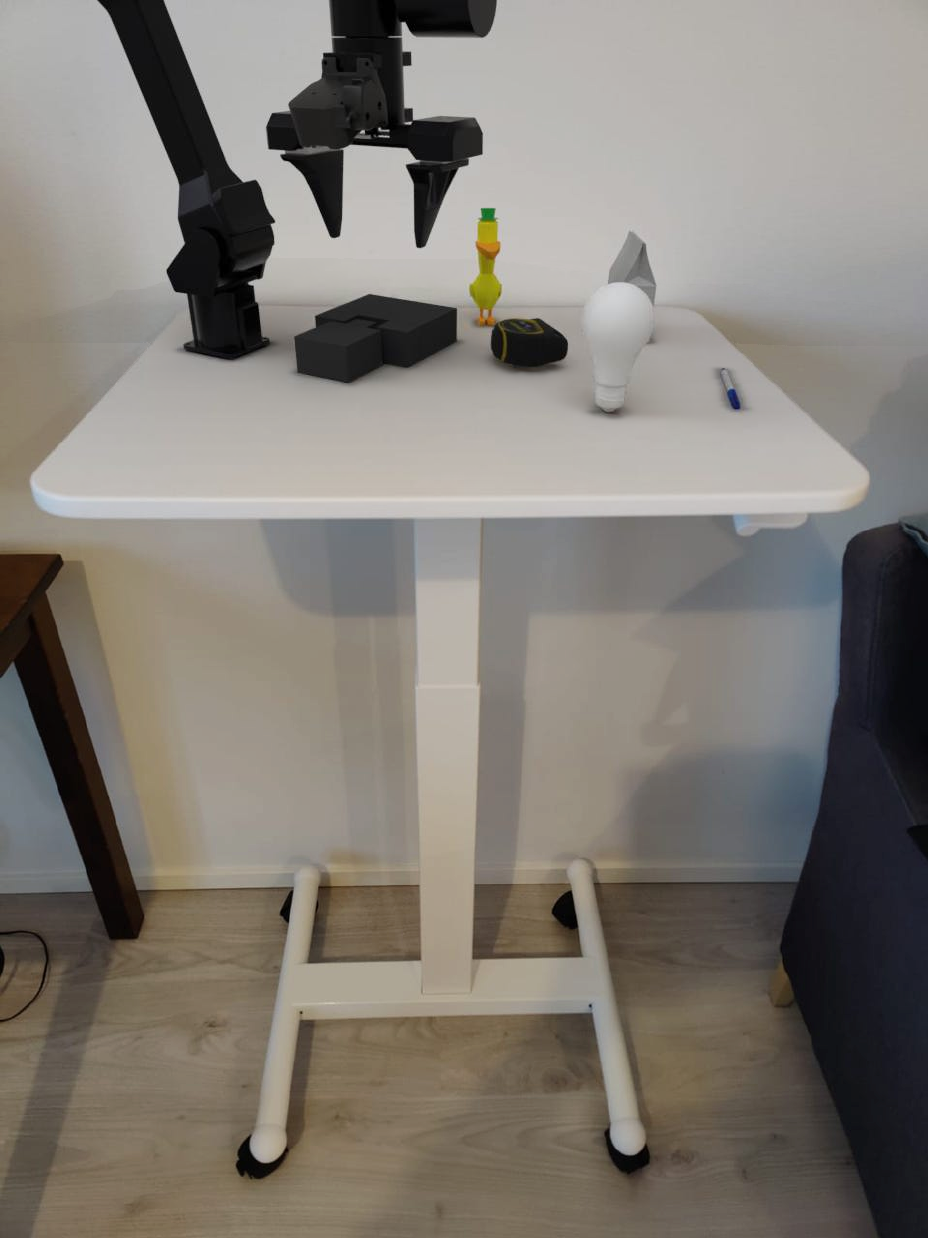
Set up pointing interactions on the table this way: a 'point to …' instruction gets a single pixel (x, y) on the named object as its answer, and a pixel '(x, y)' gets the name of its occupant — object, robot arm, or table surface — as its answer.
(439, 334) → the notch pad
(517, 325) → the tape measure
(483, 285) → the toy figure
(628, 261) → the grey faceted shape
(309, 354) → the pad
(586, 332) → the lightbulb
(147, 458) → the table surface
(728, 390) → the blue marker pen
